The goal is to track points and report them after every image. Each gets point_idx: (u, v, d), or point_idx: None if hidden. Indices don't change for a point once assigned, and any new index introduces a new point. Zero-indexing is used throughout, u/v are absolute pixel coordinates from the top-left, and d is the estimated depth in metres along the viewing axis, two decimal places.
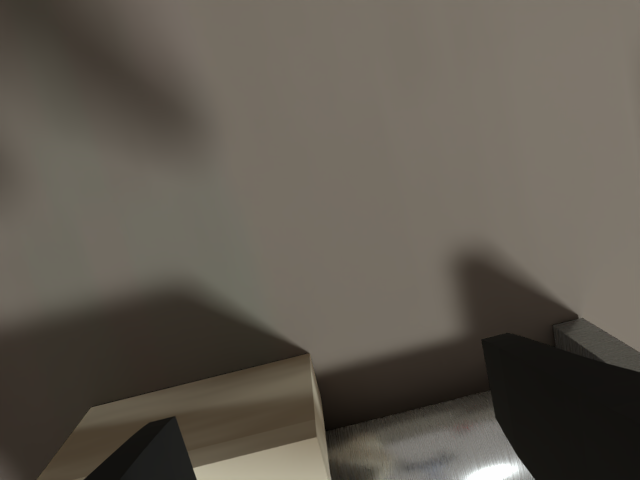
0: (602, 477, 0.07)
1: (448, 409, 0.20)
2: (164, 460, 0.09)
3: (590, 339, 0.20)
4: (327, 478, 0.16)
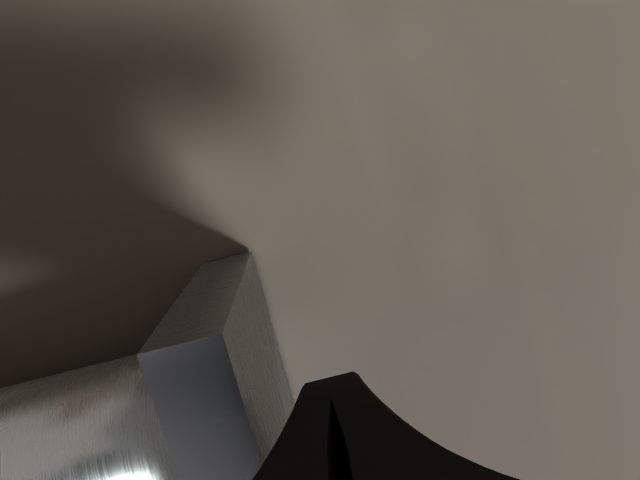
0: None
1: None
2: None
3: (210, 278, 0.11)
4: None
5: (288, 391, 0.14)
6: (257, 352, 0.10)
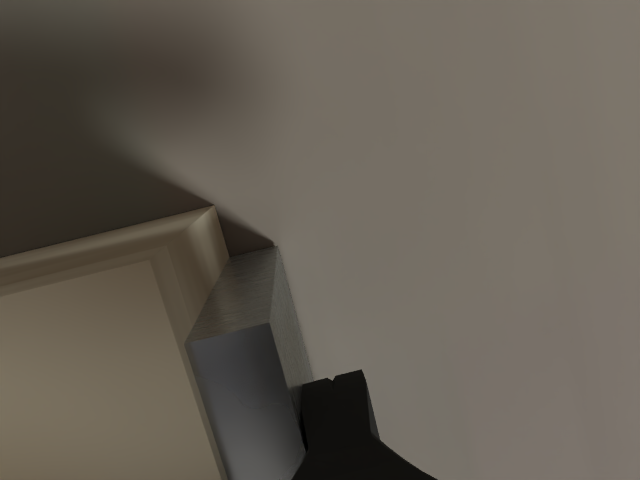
0: None
1: None
2: (371, 408, 0.10)
3: (241, 271, 0.11)
4: (181, 357, 0.07)
5: None
6: (291, 344, 0.10)
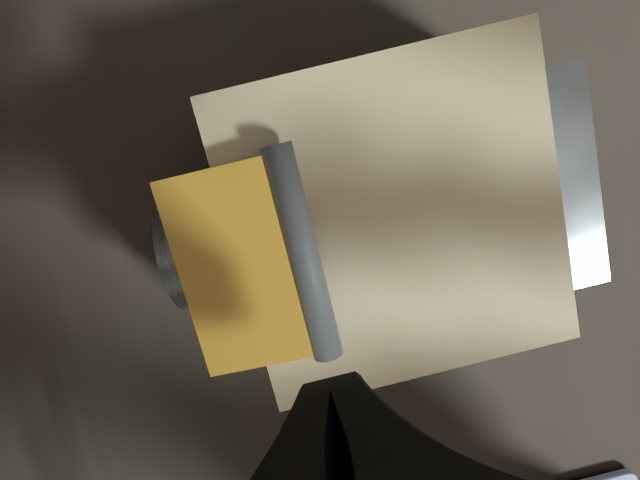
0: None
1: None
2: (335, 417, 0.10)
3: None
4: (543, 72, 0.14)
5: None
6: None
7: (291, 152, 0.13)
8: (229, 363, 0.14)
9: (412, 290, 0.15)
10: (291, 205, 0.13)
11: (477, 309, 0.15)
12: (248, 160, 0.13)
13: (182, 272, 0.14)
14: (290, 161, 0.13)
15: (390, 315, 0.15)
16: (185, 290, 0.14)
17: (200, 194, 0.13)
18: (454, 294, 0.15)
